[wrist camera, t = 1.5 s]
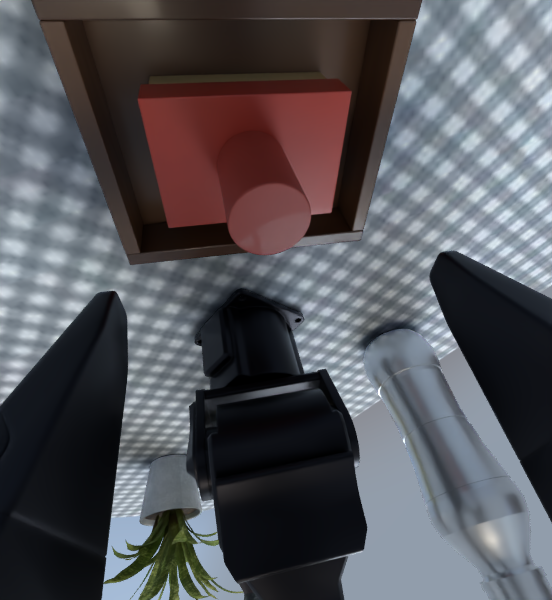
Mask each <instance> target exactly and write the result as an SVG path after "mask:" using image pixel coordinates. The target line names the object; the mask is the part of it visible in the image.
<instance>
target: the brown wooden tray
mask: <svg viewBox="0 0 552 600" xmlns="http://www.w3.org/2000/svg"><path fill="white" fill-rule="evenodd" d="M31 1H32V4H33V6H34V9H35V12H36V14H37V17H38V19H39V20H41V21H40V25H41V28H42V31H43V33H44V36H45V39H46V41H47V44H48V47H49V50H50V52H51V55H52V58H53V60H54V63H55V66H56V68H57V71H58V74H59V76H60V79H61V82H62V84H63V87H64V90H65V92H66V95H67V98H68V100H69V103H70V106H71V108H72V111H73V114H74V116H75V119H76V122H77V124H78V127H79V130H80V132H81V135H82V138H83V140H84V143H85V146H86V148H87V151H88V154H89V157H90V159H91V162H92V165H93V167H94V170H95V173H96V175H97V178H98V181H99V183H100V186H101V189H102V191H103V194H104V197H105V199H106V202H107V205H108V207H109V210H110V213H111V215H112V218H113V221H114V223H115V226H116V229H117V231H118V234H119V237H120V239H121V242H122V245H123V247H124V250H125V253H126V254H127V258H128V260H129V263H130V265H135V264H145V263H154V262H163V261H173V260H182V259H191V258H200V257H210V256H219V255H228V254H238V253H247V251H245V250H243V249H242V248H240V247H239V246H238V245H237V244H236V243H235V242H234V241H233V239H232V238H231V236H230V234H229V231H228V226H227V223H217V224H206V225H195V226H185V227H174V228H169V227H168V224H167V220H166V216H165V212H164V208H163V204H162V199H161V195H160V191H159V187H158V183H157V179H156V175H155V170H154V166H153V162H152V158H151V154H150V150H149V146H148V141H147V137H146V133H145V129H144V125H143V121H142V117H141V112H140V108H139V104H138V94H139V90H140V85H141V84H149V78H150V76H178V75H216V74H254V73H292V72H321V73H322V74H323V75H324V76H325V77H326V78H327V79H337V78H338V79H339V80H340V81H341V82H342V83H344V84H345V85H346V86H347V87H348V88H349V89H350V90H351V91H352V93H351V99H350V105H349V111H348V117H347V123H346V129H345V135H344V141H343V147H342V153H341V159H340V165H339V171H338V177H337V183H336V189H335V195H334V201H333V207H332V212H331V213H324V214H314V215H311V221H310V225H309V227H308V230H307V232H306V233H305V235H304V236H303V237H302V239H301V240H300V241H299V242H298V243H296V244H295V245H294V246H292V247H291V248H294V247H303V246H312V245H322V244H331V243H340V242H349V241H359V240H361V237H362V233H363V229H364V225H365V221H366V217H367V214H368V210H369V206H370V202H371V198H372V194H373V190H374V186H375V182H376V178H377V174H378V170H379V167H380V163H381V159H382V155H383V151H384V147H385V143H386V139H387V135H388V131H389V127H390V123H391V119H392V116H393V112H394V108H395V104H396V100H397V96H398V92H399V88H400V84H401V80H402V76H403V72H404V68H405V65H406V61H407V57H408V53H409V49H410V45H411V41H412V37H413V33H414V29H415V25H416V19H417V18H418V15H419V11H420V7H421V3H422V0H31Z"/></svg>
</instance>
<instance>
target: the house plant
mask: <svg viewBox="0 0 552 600" xmlns="http://www.w3.org/2000/svg"><path fill="white" fill-rule="evenodd" d="M186 458H187V455H168V456H164V457H161V458H158V459H156V460H154V461H153V462H152V463H151V465H150V470H149V475H148V480H147V485H146V490H145V495H144V500H143V505H142V510H141V515H140V523H141V524H142V525H146V526H153V530H152V533H151V535H150V536H149V537H148V539H147V540H146V541H145V543H144V544H143V545H141V546H134V545H131V544H128V543H127V542H126V543H127V547H128V549H129V550H131V551H136V550H139V551H138V553H136V554H133V555H124V554H120V553H118V552H116V551H115V550H114V549H113V552H114V555H116V556H117V557H119V558H124V559H125V558H131V557H134V558H135V557H137V556H138V555H139V556H138V558H137V559H136V560H135V561H134V562H133V563H132V564H131V565H130V566H128V567H127V568H125V569H124V570H122V571H121V572H120V573H119V574H118V575H117V576H116V577H114V578H112V579H109V580H107V581H105V582H104V583H103V584H107V583H116V582H120V581H123V580H126V579H128V578H130V577H132V576H134V575H135V574H137V573H138V572H140V571H141V570H142V569H143V568H144V567H146V566H148V565H150V564H152V563H153V564H154V562H155V561H156V562H155V565H154V567H153V570H152V573H151V575H150V577H149V579H148V582H147V584H146V586H145V588H144V590H143V592H142V593H141V594H140V595H141V596H140V597H139V600H150V599H151V598H153V597H154V596H155V595H157V594H158V592H159V591H160V589H161V588H162V587H163V589H162V592H161V594H160V597H159V599H158V600H160V599H161V596H162V593H163V591H164V588H165V585H166V581H167V578H168V574H169V584H170V597H169V600H179V595H178V591H179V584H178V578H177V565H178V570H179V578H180V581H181V583H182V585H183V587H184V589H185V590H186V591H187V593H188V594H189V595H190V596H191V597H193V598H195V599H196V600H198V599H200V598H204V597H207V596H202V595H201V594H200V592H199V590H198V589H197V588H196V586H195V585H194V583H193V581H192V579H191V577H190V575H189V572H188V569H187V566H186V562H188V563H189V565H190V567H191V570H192V572H193V574H194V577H195V578H196V580H197V581H198V583H199V584H200V585H201V586H202V587H203V589H204V590H205V591H206V593H207V594H208V595H209V596H212V597H214V598H216V597H215V596H213V595H212V594H210V593H209V592H208V590H207V589H206V587H205V586H204V585H203V583H204V584H205V585H206V586H207V587H209V588H210V589H212V590H215V591H217V590H216V588H215V587H214V586H212V585H211V584H210V583H209V581H208V580H211V581H212V582H213V583H214V584H215V585H216V586H218V587H219V588H221V589H223V590H224V591H227V592H231V593H243V592H232V591H228V590H226V589H224V588H222V587H221V586H219V585H218V584H217V583H216V582H214V581H213V579H215V578H211V577H210V576H209V575H208V573H207V572H206V571H205V570H204V568H203V567H202V566H201V564H200V562H199V560H198V558H197V556H196V553H195V550H194V547H193V544H198V543H197V542H196V541H195V539H194V538H193V537H192V536H191V535H190V533H189V531H190V532H191V533H193V534H194V535H195V536H196V537H197V536H202V537H208V536H212V535H215V534H216V533H217V532H216V533H213V534H209V535H201V534H197V533H194V532H193V530H192V528H191V527H190V526H189V527H190V528H191V530H192V531H191V530H190V529H189V528H188V526H187V525H186V523H185V521H186V522H187V520H190V519H192V518H195V517H197V516H198V515H199V514H201V512H202V508H201V502H200V497H199V492H198V487H197V484H196V480H195V479H194V478H193V477H191V476H190V475H189V474H188V473H187V471H186ZM187 524H188V523H187ZM188 525H189V524H188ZM188 530H189V531H188ZM163 537H164V538H163ZM197 538H198V539H199V540H200V541H201V542H202V543H205V544H207V545H211V546H216V545H218V544H219V540H215V541H205V540H202V539H200V538H199V537H197ZM162 539H163V541H162ZM161 541H162V544H161ZM160 544H161V546H160ZM159 546H160V549H159V552H158V553H157V554H156V555H155V556H154V557H153V555H154V554H155V553H156V551H157V549H158V548H159ZM152 557H153V558H152ZM151 558H152V559H151ZM126 560H131V559H126ZM153 564H152V565H151V568H152V566H153ZM151 568H150V569H149V571H148V573H147V575H146V577H147V576H148V574H149V572H150V570H151ZM146 577H145V578H144V580H145V579H146ZM144 580H143V582H144ZM200 580H201V581H202V582H203V583H202V582H201V581H200ZM164 583H165V584H164ZM141 585H142V584H141ZM141 585H140V586H141ZM163 585H164V586H163ZM217 592H218V591H217ZM134 594H135V593H134Z"/></svg>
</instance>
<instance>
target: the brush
mask: <svg viewBox="0 0 552 600" xmlns="http://www.w3.org/2000/svg"><path fill="white" fill-rule="evenodd" d="M351 93H352V91H351V90H350V89H349V88H348V87H347V86H346V85H345V84H344V83H342V82H341V81H340V80H339V79H338V78H337V79H327V78H326V77H325V76H324V75H323V74H322V73H321V72H292V73H254V74H216V75H178V76H150V78H149V84H141V85H140V90H139V94H138V104H139V108H140V112H141V117H142V121H143V125H144V129H145V133H146V137H147V141H148V146H149V150H150V154H151V158H152V162H153V166H154V170H155V175H156V179H157V183H158V187H159V191H160V195H161V199H162V204H163V208H164V212H165V216H166V220H167V224H168V227H169V228H174V227H185V226H195V225H206V224H217V223H227V226H228V231H229V234H230V236H231V238H232V239H233V241H234V242H235V243H236V244H237V245H238V246H239V247H240V248H242V249H243V250H245V251H247V252H250V253H253V254H257V255H272V254H277V253H280V252H283V251H285V250H287V249H289V248H291V247H292V246H294V245H295V244H296V243H298V242H299V241H300V240H301V239H302V237H303V236H304V235H305V233H306V232H307V230H308V227H309V225H310V221H311V215H314V214H324V213H331V212H332V207H333V201H334V195H335V189H336V183H337V177H338V171H339V165H340V159H341V153H342V147H343V141H344V135H345V129H346V123H347V117H348V111H349V105H350V99H351Z"/></svg>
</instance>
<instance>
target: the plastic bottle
mask: <svg viewBox="0 0 552 600" xmlns="http://www.w3.org/2000/svg"><path fill="white" fill-rule="evenodd" d="M363 363H364V367H365V371H366V375H367V377H368V379H369V381H370V382H371V384H372V386H373V388H374V389H375V390H376V392H377V393H378V395H379V396H380V397H381V398H382V400H383V402H384V404H385V406H386V407H387V409H388V411H389V413H390V415H391V417H392V419H393V420H394V422H395V424H396V426H397V428H398V430H399V432H400V434H401V437H402V439H403V442H404V443H405V444H406V449H407V452H408V454H409V457H410V459H411V462H412V464H413V467H414V470H415V473H416V476H417V479H418V483H419V486H420V490H421V493H422V496H423V499H424V502H425V505H426V506H427V512H428V515H429V517H430V520H431V523H432V525H433V526H434V528H435V529H436V530H437V532H438V533H439V535H440V536H441V538H442V539H443V540H444V541H446V542H447V543H448V544H449V545H450V546H451V547H452V548H453V549H454V550H455V551H456V552H457V553H459V554H460V555H461V556H463V558H465V559H466V560H467V561H468V562H470V563H471V564H472V565H473V566H475V567H476V568H477V569H478V570H479V572H480V574H481V575H482V577H483V582H481V583H480V584H481V586H482V589H483V590H484V591H486V593H487V595H488V597H489V600H552V587H551V586H550V584H549V582H548V580H547V579H546V577H545V576H546V573H545V572H544V570H543V568H542V567H536V566H535V565H534V563H533V560H532V558H531V555H530V535H531V529H530V514H529V510H528V507H527V504H526V501H525V498H524V495H523V494H522V493H521V491H520V490H519V488H518V487H517V485H516V484H515V483H514V482H513V481H512V480H511V479H510V476H509V475H508V473H507V472H506V471H505V470H504V468H503V467H502V466H501V465H500V463H499V462H498V461H497V459H496V458H495V457H494V456H493V454H492V453H491V452H490V450H489V449H488V448H487V447H486V445H485V444H484V443H483V442H482V440H481V438H480V437H479V435H478V434H477V432H476V431H475V429H474V428H473V426H472V425H471V424H470V423H469V422H468V420H467V417H466V416H465V414H464V413H463V411H462V410H461V409H460V407H459V404H458V403H457V401H456V399H455V397H454V395H453V393H452V391H451V389H450V387H449V385H448V383H447V381H446V379H445V377H444V375H443V373H442V369H441V366H440V364H439V360H438V358H437V356H436V353H435V351H434V349H433V347H432V346H431V345H430V344H429V343H428V342H427V340H426V339H425V338H424V337H423V336H422V335H421V334H419V333H417V332H415V331H412V330H410V329H396V330H392V331H389V332H386V333H384V334H382V335H380V336H378V337H377V338H375V339H374V340H373V341H372V342H371V343H370V344H369V345H368V346H367V348H366V350H365V354H364V358H363Z"/></svg>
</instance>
